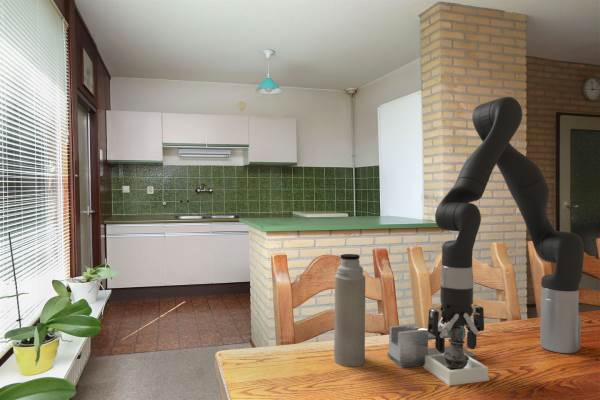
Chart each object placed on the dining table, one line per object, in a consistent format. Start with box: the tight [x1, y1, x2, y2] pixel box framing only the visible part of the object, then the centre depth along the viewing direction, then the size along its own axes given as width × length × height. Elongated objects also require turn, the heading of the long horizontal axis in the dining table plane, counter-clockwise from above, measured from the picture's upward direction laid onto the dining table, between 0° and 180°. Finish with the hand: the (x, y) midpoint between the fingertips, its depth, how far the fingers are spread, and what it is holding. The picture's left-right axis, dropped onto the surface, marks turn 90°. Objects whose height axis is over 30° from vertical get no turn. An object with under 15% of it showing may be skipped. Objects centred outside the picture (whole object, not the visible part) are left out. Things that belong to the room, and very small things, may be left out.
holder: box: [423, 354, 491, 387], centre depth 110 cm, size 11×11×3 cm
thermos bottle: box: [333, 253, 366, 367], centre depth 117 cm, size 8×8×28 cm
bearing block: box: [387, 323, 478, 369], centre depth 120 cm, size 22×8×8 cm, turn 106°
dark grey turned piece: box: [444, 326, 469, 370], centre depth 110 cm, size 6×6×12 cm
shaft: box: [417, 326, 467, 341], centre depth 120 cm, size 13×5×5 cm, turn 106°
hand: (455, 349), depth 109 cm, fingers open, 8 cm apart
